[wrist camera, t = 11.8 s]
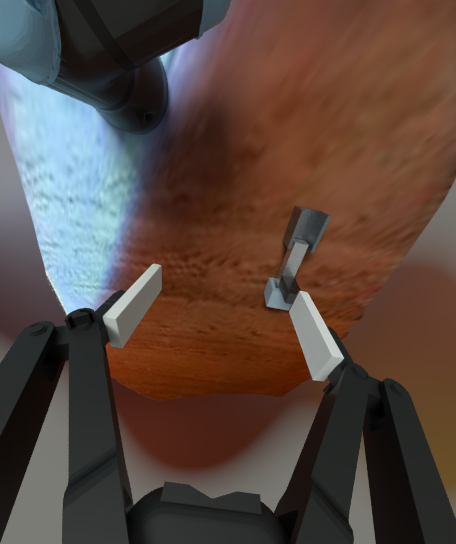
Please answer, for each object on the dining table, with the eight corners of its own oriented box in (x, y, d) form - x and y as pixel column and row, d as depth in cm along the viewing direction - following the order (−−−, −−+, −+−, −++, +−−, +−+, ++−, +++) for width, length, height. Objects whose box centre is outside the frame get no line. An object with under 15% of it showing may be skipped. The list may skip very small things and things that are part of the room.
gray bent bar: (291, 237, 44) (306, 256, 35) (304, 240, 44) (322, 259, 35) (272, 288, 53) (279, 314, 43) (282, 290, 53) (292, 317, 43)
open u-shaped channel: (295, 206, 42) (302, 210, 37) (321, 211, 42) (331, 216, 37) (282, 240, 46) (287, 248, 41) (306, 245, 46) (313, 253, 42)
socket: (269, 277, 52) (272, 290, 47) (290, 281, 52) (296, 294, 47) (263, 292, 55) (266, 306, 50) (283, 296, 56) (288, 310, 50)
